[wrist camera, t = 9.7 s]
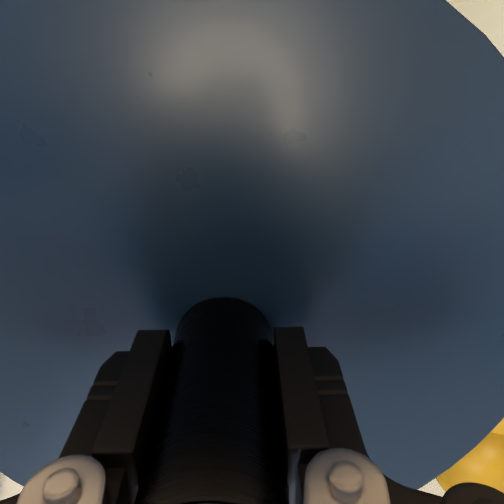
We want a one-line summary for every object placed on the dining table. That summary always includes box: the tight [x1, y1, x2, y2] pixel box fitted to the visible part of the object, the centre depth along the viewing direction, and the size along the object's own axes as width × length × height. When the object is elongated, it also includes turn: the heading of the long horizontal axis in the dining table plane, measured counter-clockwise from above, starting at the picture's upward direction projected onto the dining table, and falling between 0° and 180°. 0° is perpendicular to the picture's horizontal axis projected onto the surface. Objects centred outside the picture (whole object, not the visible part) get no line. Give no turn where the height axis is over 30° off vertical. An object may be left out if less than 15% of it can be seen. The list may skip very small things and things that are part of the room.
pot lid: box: [0, 0, 504, 504], centre depth 9 cm, size 18×18×7 cm
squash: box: [436, 418, 504, 493], centre depth 26 cm, size 11×5×5 cm, turn 1°
